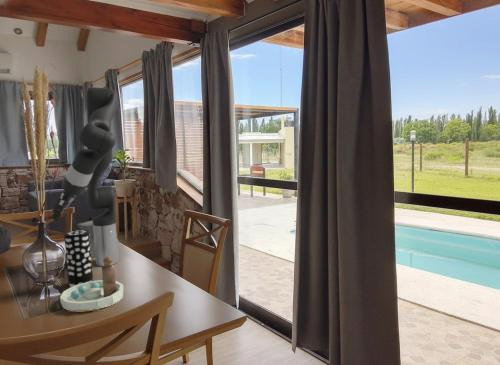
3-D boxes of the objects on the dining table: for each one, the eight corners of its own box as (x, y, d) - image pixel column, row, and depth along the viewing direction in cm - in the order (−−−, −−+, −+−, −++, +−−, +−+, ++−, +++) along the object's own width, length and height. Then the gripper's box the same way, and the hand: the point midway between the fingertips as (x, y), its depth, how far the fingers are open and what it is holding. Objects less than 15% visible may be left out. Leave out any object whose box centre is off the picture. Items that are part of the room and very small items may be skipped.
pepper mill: (108, 292, 134) (106, 254, 133) (119, 293, 133) (116, 255, 132) (101, 297, 130) (98, 258, 129) (111, 298, 129) (108, 259, 128)
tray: (88, 286, 143) (87, 276, 143) (134, 291, 138) (133, 280, 137) (48, 309, 125) (47, 297, 125) (99, 315, 120) (98, 302, 119)
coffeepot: (74, 258, 178) (71, 219, 176) (84, 252, 188) (80, 215, 186) (107, 257, 178) (104, 218, 176) (115, 251, 187) (113, 214, 185)
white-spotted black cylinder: (69, 283, 147) (65, 231, 145) (93, 280, 150) (89, 228, 148) (68, 291, 139) (63, 236, 137) (93, 287, 142) (88, 233, 140)
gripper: (76, 163, 135) (59, 197, 142) (57, 182, 123) (39, 218, 129) (96, 174, 137) (78, 207, 144) (79, 194, 125) (61, 229, 131)
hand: (60, 212), depth 136 cm, fingers open, 8 cm apart
